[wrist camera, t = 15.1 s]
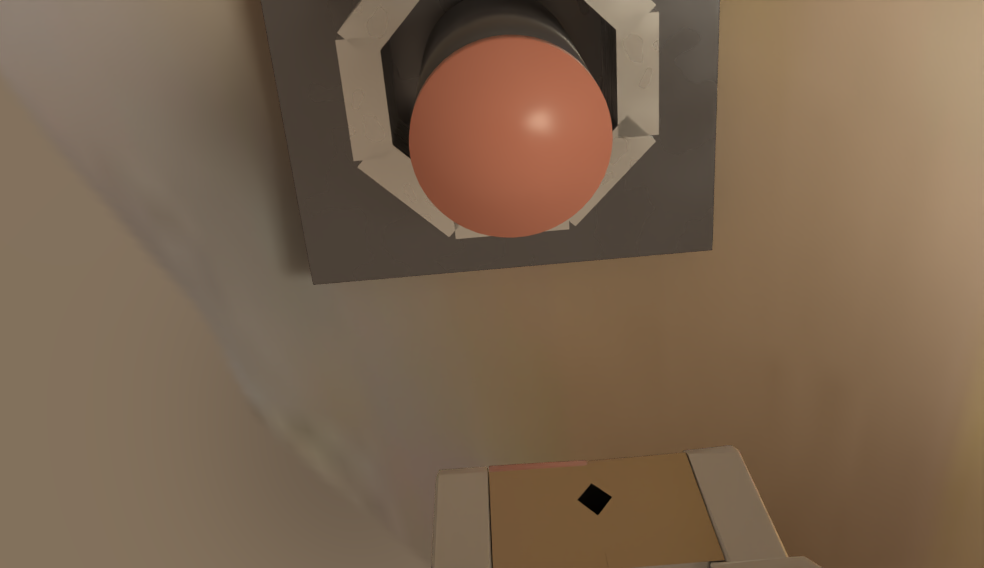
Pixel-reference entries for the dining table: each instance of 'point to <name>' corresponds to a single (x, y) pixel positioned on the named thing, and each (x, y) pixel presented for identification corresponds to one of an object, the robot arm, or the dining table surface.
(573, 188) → the dome-topped dark cylinder
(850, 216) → the dining table surface
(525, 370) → the dining table surface
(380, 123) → the octagon ring plate
